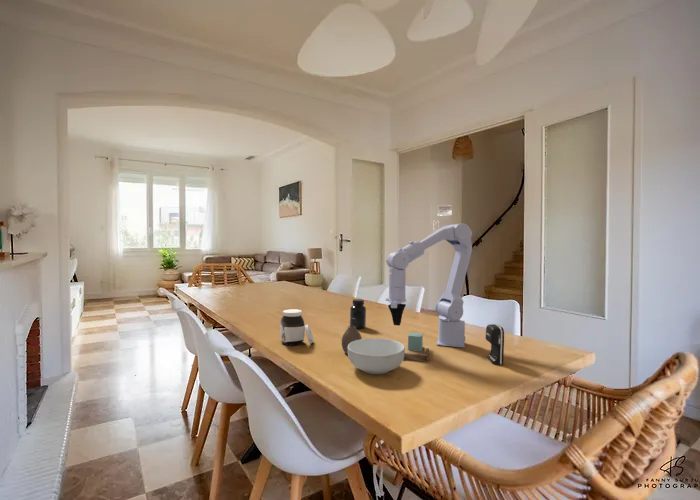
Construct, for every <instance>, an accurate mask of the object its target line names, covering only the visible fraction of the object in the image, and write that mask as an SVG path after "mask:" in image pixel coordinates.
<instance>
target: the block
mask: <svg viewBox="0 0 700 500" xmlns="http://www.w3.org/2000/svg"><path fill="white" fill-rule="evenodd" d="M423 335H424V333H419V332H409V333H408V335H407V337H408V339H407V344H408V345H407V350H408V351H414V352H415V351H416V352H422V350H423V348H424V347H423V345H424V344H423V342H424V341H423Z"/></svg>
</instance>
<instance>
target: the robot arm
mask: <svg viewBox="0 0 700 500" xmlns="http://www.w3.org/2000/svg"><path fill="white" fill-rule="evenodd" d="M472 236H473V231H472V230H471V228H470V227H469V225H468V224H467V223H462V222H461V223H454V224H452V223H451V224H449V223H447V224H446V225H444V226H441V227H440V228H438V229H437V230H435V231H434V232H432V233H431V234H430V235H427V236H426V237H425V238H423V239H422V240H420V241H418V240H414V241H413V240H410V241H409V242H408V244H407V245H405V246H403V247H402V248H401V247H399V248H398V249H397V251H395V252H393V251H392V252H390V254H388V256H387V259H386V264H387V267H388V271H389V273H388V297H386V298H385V301H387V302H389V303H390V304H388V310H389V311H390V313H391V314H390V315H391V318H392V322H393V326H400V325H401V323H402V319H403V318H402V317H403V314H404V309H405V308H406V306H407V305H406V301H407V299H406V279H407V278H406V273H407V272H406V270H407V269H406V268H408V266H409V264H410V263H412V262H413V261H415V260H416V259H418V258H420V257H421V256H423V255H425V250H427V249H428V248H430V247H433V246H434V245H436V244H437V243H440V242H441V241H444V240H445V241H446V242H447V243H449V244H450V245H451V246H452V247H453V249H454V250H455V252H454V257H453V261H452V264H451V269H450V273H449V276H448V279H447V285H446V289H445V291H444V292H443V293H442V294H441V295H440V298H439V300H438V301H437V302H436V304H435V312H436V314H437V315H438V338H437V340H436V345H437V346H444V347H453V348H454V347H455V348H465V342H466V336H465V335H466V333H465V332H466V331H465V330H466V327H465V326H466V325H465V324H466V323H465V322H466V321H465V320H461V319H462V317H463V315H464V306H463V305H464V300H463V298H462V296H461V294H462V291H463V287H464V282H465V279H466V276H467V271H468V268H469V263H470V260H471V256H472V253H473V252H472V251H473V244H472Z"/></svg>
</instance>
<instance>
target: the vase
mask: <svg viewBox="0 0 700 500" xmlns="http://www.w3.org/2000/svg"><path fill="white" fill-rule="evenodd" d="M360 339H363V337H362V335H361V333H360V332H359V329H356V327H355V326H350V325H349V326H348V327H347V329H346V331H345V332H344V333H343V334H342V337H341V347H342V350H343V352H345V354H347V355H348V351H347V350H348V348H347V347H348V344H349V343H351V342H353V341H356V340H360Z"/></svg>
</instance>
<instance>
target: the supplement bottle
mask: <svg viewBox="0 0 700 500" xmlns="http://www.w3.org/2000/svg"><path fill="white" fill-rule="evenodd" d="M364 305H365V300H364V299H359V298H356V299H355V298H354V299H352V306H350V308H349V309H350V310H349V326H355V327H356V329H357V330H364V329H365V328H366V326H367V325H366V323H367V322H366V321H367V318H366V317H367V308H366V306H364Z"/></svg>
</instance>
